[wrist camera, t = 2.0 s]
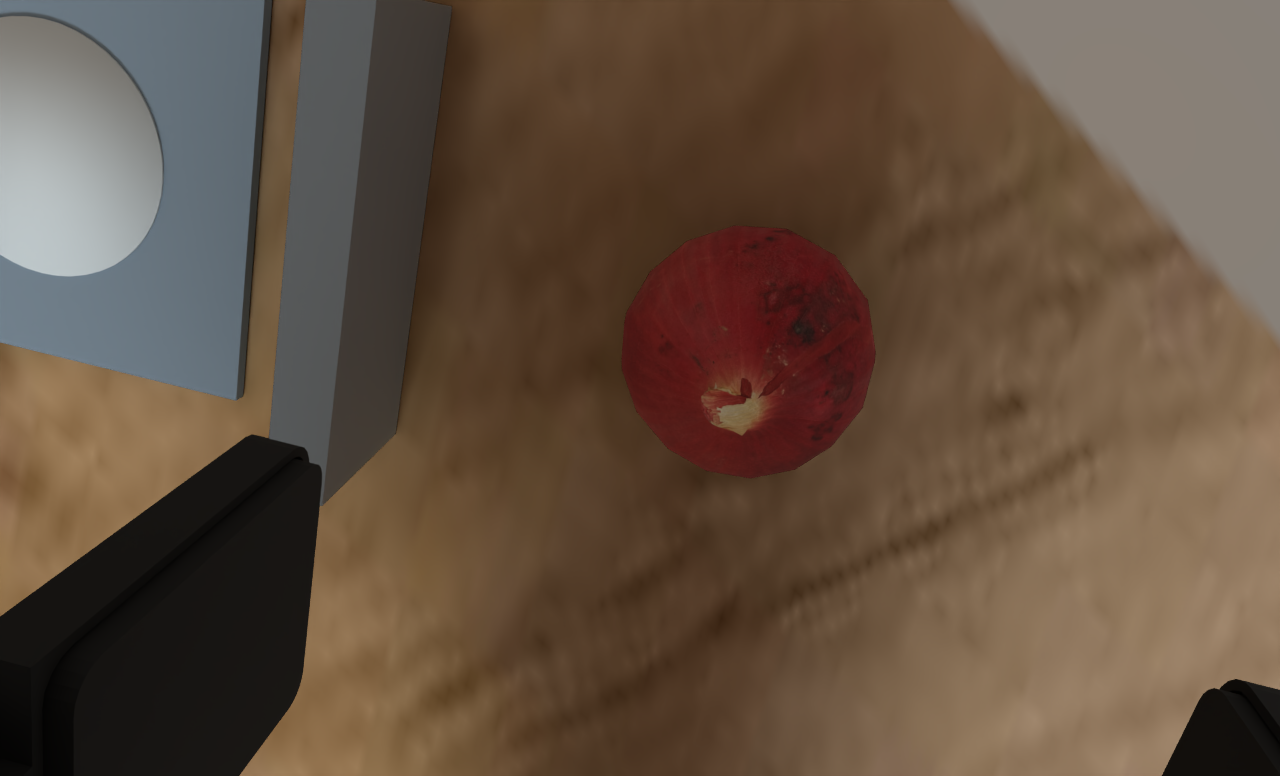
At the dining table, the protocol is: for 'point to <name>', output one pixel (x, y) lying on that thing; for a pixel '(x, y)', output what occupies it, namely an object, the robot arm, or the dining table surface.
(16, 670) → the robot arm
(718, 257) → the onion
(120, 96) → the mat
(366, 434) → the low wall
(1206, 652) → the dining table surface
